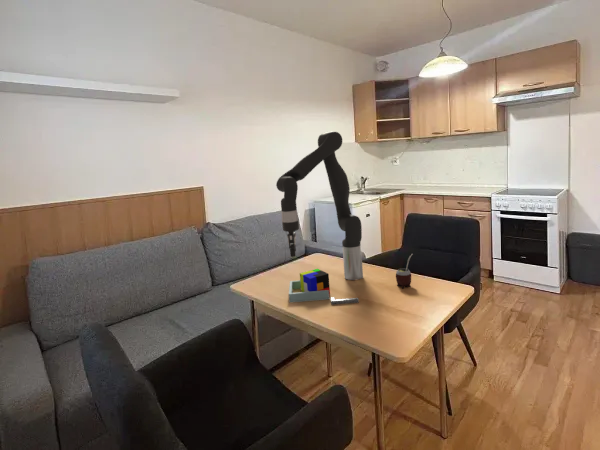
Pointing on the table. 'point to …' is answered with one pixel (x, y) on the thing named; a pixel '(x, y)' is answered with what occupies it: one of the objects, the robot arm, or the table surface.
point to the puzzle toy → (314, 281)
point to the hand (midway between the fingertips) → (293, 253)
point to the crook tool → (344, 301)
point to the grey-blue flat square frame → (305, 293)
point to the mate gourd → (404, 276)
